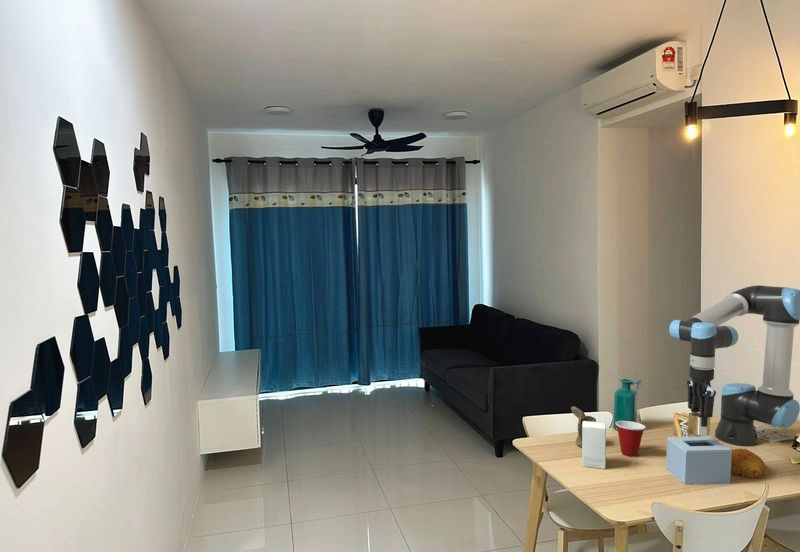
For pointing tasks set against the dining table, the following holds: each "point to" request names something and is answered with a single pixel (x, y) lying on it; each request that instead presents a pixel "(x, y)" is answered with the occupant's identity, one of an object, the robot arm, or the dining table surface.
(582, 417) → the whale tail figure
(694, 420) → the olive rectangular block
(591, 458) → the skincare box
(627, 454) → the plastic cup
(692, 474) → the box
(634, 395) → the pitcher
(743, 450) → the croissant
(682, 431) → the candy box
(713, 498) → the dining table surface
